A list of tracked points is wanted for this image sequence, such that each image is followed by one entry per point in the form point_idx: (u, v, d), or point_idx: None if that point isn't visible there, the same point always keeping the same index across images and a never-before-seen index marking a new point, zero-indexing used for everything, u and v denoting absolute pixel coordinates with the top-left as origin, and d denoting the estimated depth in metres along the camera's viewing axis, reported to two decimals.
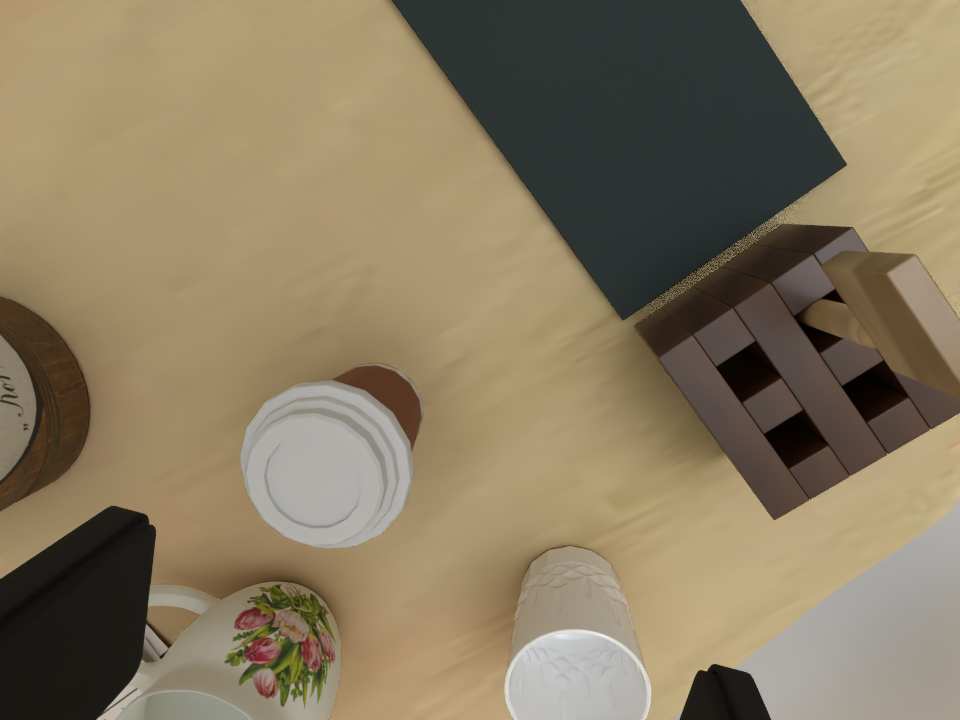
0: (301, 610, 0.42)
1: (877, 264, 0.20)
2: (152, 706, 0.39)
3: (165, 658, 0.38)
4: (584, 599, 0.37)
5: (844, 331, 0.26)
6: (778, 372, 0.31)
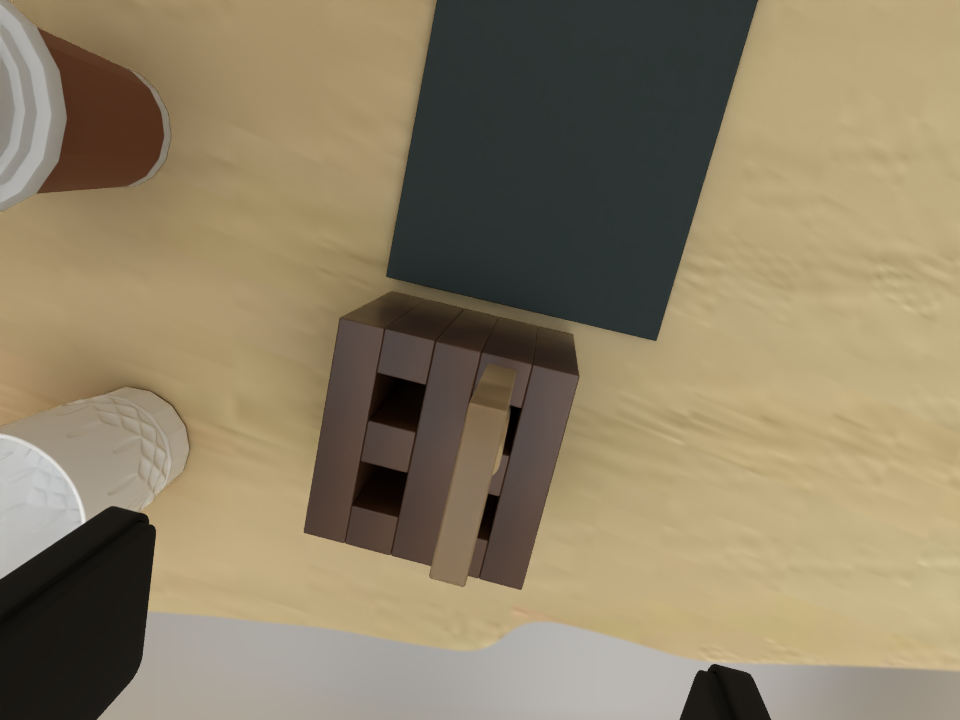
0: None
1: (487, 394, 0.17)
2: None
3: None
4: (107, 449, 0.32)
5: None
6: (418, 426, 0.28)
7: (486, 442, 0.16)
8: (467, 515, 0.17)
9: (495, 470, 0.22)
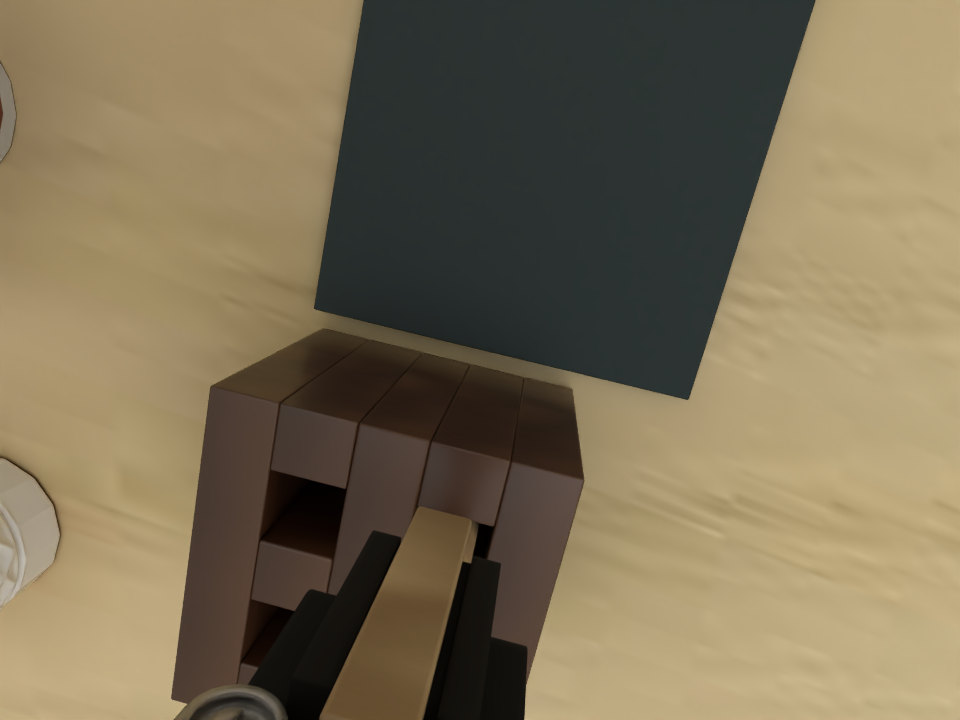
0: None
1: (382, 649, 0.07)
2: None
3: None
4: None
5: None
6: (336, 550, 0.18)
7: None
8: None
9: None
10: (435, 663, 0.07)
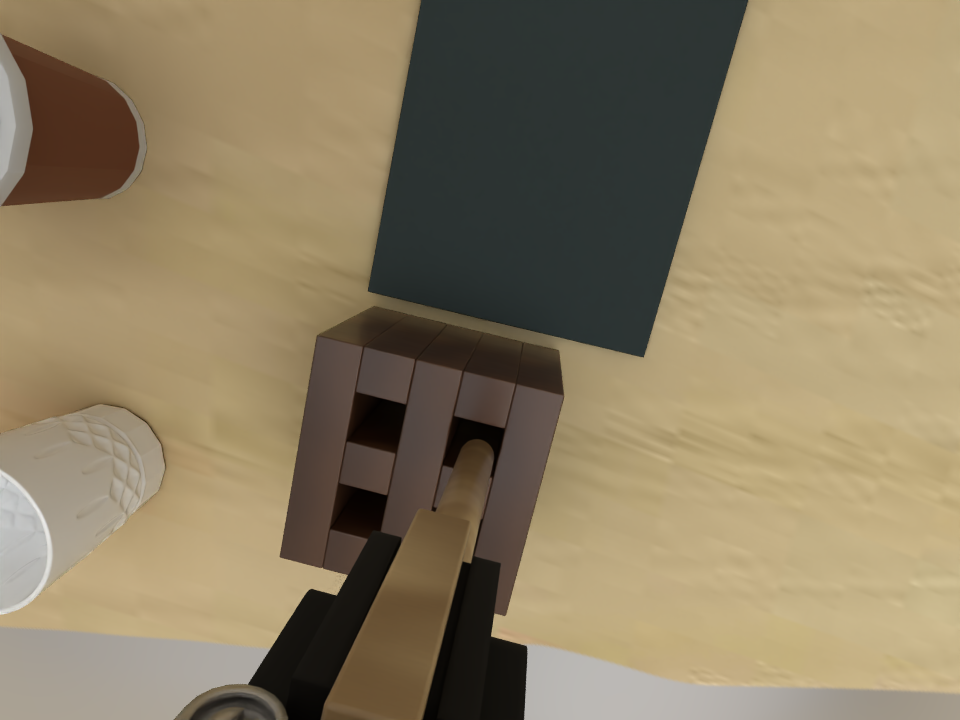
0: None
1: (384, 642, 0.08)
2: None
3: None
4: (76, 470, 0.31)
5: None
6: (398, 447, 0.27)
7: None
8: None
9: None
10: (436, 656, 0.08)
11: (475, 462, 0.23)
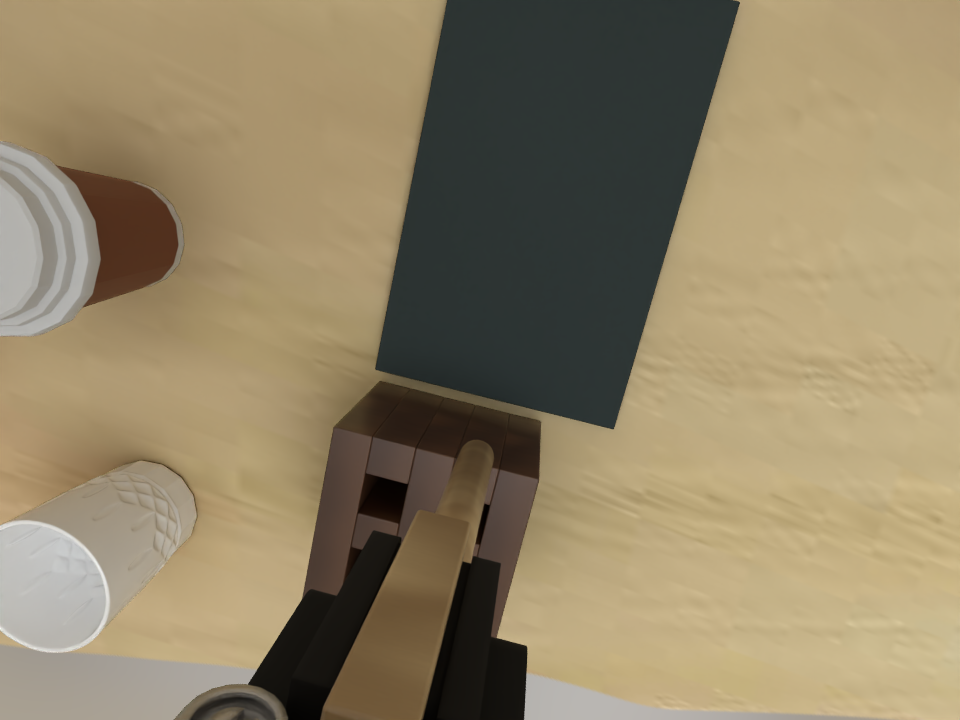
0: None
1: (384, 644, 0.08)
2: None
3: None
4: (127, 528, 0.37)
5: None
6: (401, 518, 0.33)
7: None
8: None
9: None
10: (436, 658, 0.08)
11: (475, 463, 0.23)
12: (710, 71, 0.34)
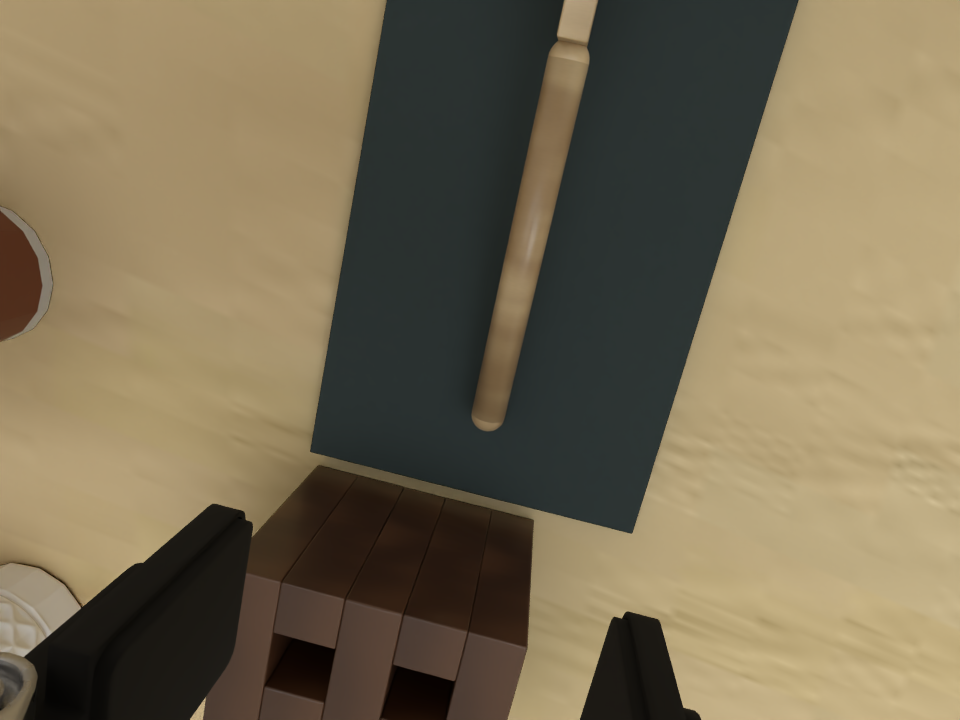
0: None
1: None
2: None
3: None
4: None
5: None
6: (327, 695, 0.22)
7: None
8: None
9: (588, 53, 0.21)
10: None
11: None
12: (772, 42, 0.24)
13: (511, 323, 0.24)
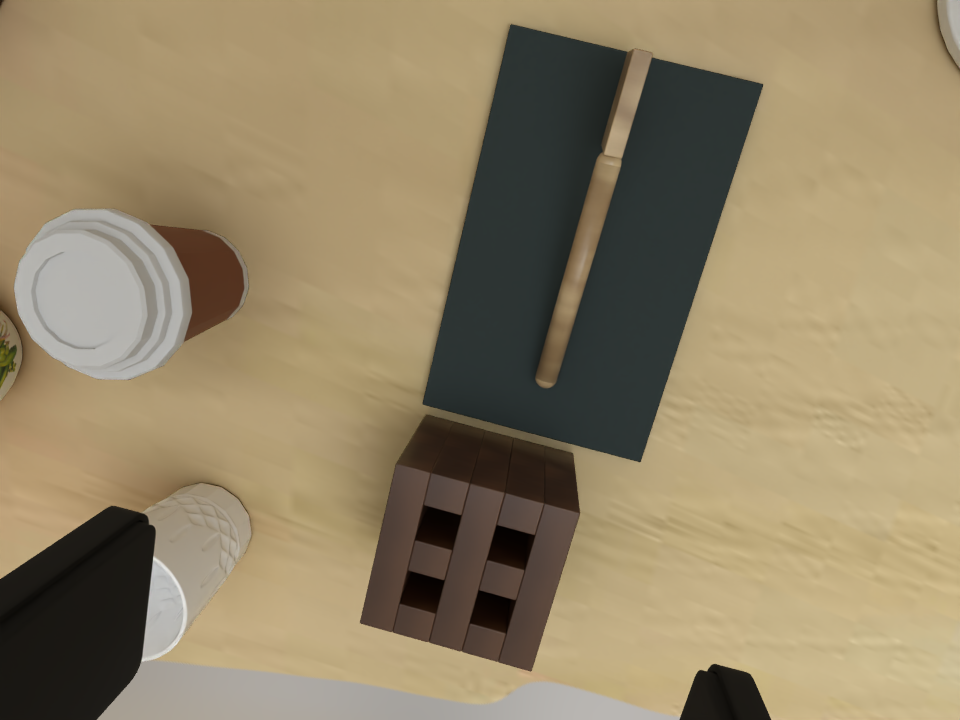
0: None
1: None
2: None
3: None
4: (198, 549, 0.40)
5: (590, 181, 0.36)
6: (454, 545, 0.36)
7: None
8: None
9: None
10: None
11: None
12: (735, 144, 0.38)
13: (565, 320, 0.39)
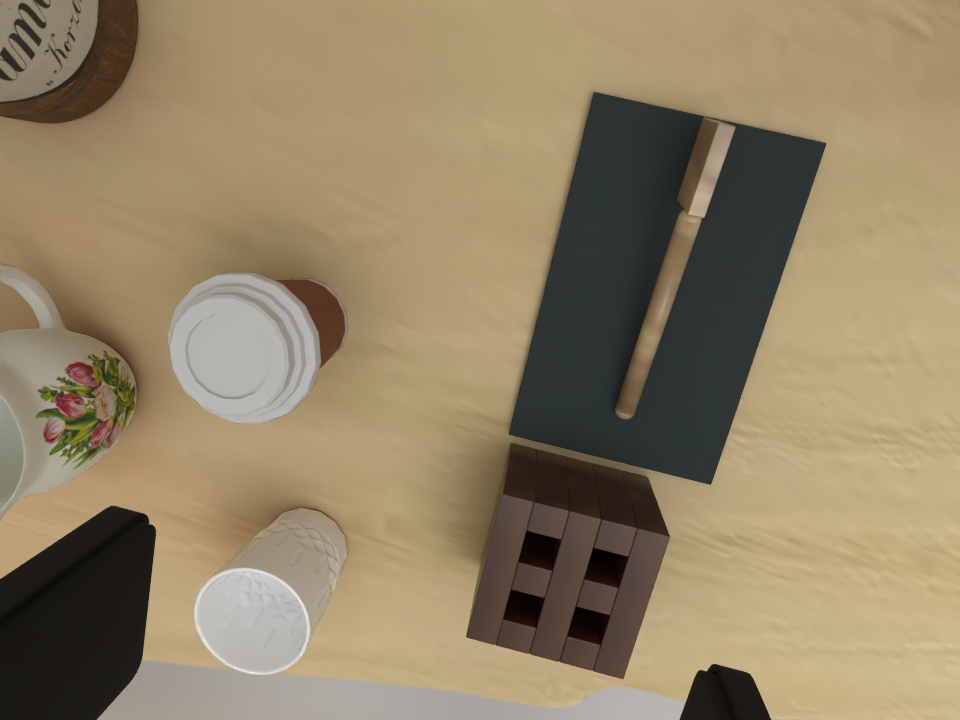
0: (119, 396, 0.45)
1: None
2: None
3: None
4: (313, 571, 0.44)
5: None
6: (553, 566, 0.40)
7: (716, 120, 0.39)
8: None
9: (701, 217, 0.39)
10: None
11: None
12: (800, 197, 0.42)
13: (646, 358, 0.43)
